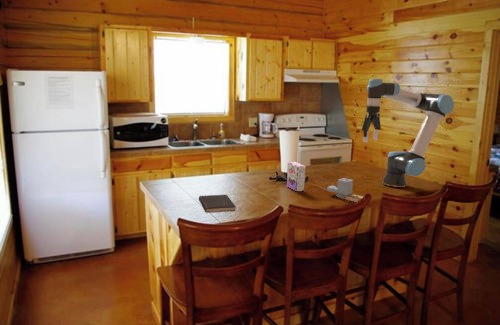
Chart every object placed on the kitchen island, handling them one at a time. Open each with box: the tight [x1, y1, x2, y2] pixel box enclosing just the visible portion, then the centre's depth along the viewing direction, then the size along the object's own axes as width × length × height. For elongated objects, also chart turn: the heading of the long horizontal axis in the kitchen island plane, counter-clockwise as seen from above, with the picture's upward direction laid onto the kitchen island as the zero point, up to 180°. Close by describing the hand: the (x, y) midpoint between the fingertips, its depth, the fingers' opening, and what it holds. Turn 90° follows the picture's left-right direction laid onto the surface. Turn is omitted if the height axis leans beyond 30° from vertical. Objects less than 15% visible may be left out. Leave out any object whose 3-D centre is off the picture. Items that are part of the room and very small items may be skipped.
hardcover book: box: [198, 194, 237, 212], centre depth 218 cm, size 16×23×2 cm
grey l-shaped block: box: [326, 177, 354, 195], centre depth 238 cm, size 6×13×8 cm, turn 48°
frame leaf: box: [346, 193, 364, 202], centre depth 232 cm, size 9×7×2 cm
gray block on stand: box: [335, 178, 354, 198], centre depth 236 cm, size 7×7×11 cm
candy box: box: [286, 161, 306, 192], centre depth 251 cm, size 14×6×16 cm, turn 21°
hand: (370, 141), depth 240 cm, fingers open, 13 cm apart
